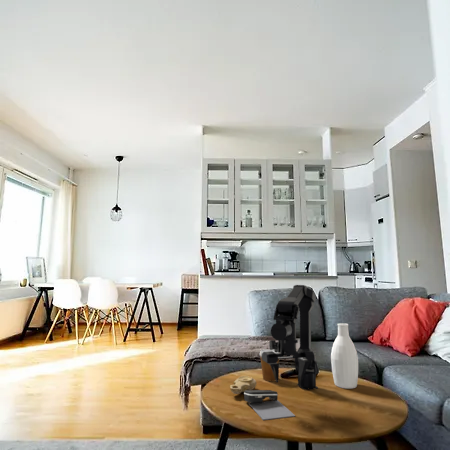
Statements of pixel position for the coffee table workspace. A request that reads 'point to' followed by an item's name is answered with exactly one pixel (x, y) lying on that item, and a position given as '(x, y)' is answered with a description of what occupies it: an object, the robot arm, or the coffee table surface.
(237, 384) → the oil lamp
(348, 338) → the bottle
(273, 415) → the mat
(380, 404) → the coffee table surface
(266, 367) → the disposable coffee cup
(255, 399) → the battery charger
